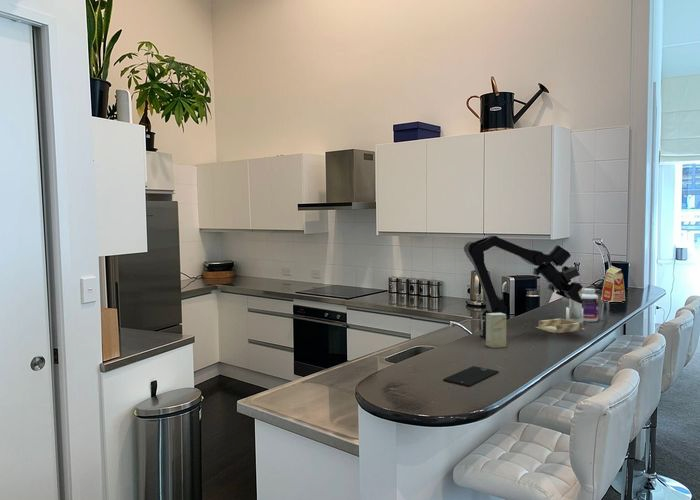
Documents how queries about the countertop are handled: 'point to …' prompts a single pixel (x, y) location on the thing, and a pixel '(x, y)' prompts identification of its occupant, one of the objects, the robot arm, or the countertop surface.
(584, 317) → the pill bottle
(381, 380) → the countertop surface
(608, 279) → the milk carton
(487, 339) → the skincare box
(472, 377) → the cell phone
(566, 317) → the white rounded cylinder
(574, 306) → the cell
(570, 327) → the cradle
